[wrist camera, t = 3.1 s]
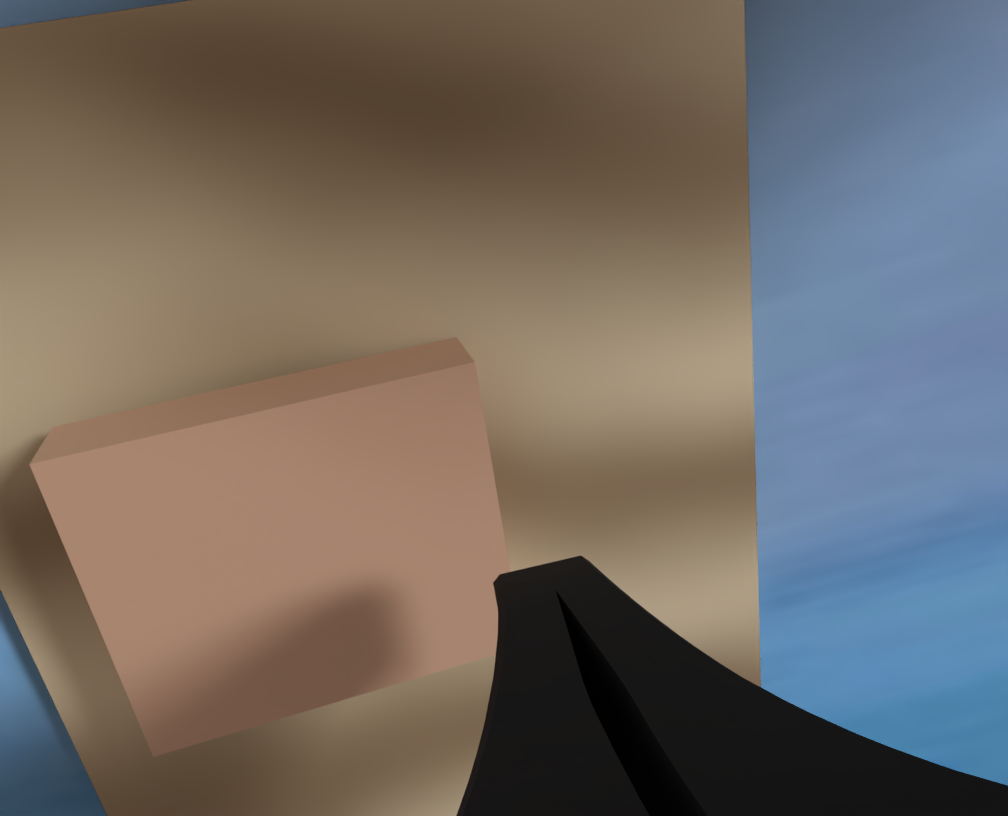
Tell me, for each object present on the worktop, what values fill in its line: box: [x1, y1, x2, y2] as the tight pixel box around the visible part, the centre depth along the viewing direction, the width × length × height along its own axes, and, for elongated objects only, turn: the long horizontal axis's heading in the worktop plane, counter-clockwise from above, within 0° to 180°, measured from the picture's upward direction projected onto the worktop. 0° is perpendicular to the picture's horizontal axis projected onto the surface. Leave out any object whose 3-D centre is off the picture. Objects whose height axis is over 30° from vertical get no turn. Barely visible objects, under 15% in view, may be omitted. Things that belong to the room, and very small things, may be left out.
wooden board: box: [0, 0, 761, 816], centre depth 16 cm, size 18×15×1 cm
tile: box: [29, 337, 510, 757], centre depth 15 cm, size 6×2×7 cm
